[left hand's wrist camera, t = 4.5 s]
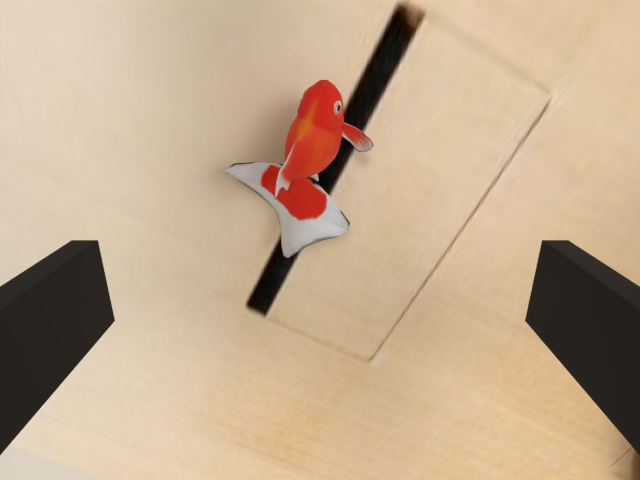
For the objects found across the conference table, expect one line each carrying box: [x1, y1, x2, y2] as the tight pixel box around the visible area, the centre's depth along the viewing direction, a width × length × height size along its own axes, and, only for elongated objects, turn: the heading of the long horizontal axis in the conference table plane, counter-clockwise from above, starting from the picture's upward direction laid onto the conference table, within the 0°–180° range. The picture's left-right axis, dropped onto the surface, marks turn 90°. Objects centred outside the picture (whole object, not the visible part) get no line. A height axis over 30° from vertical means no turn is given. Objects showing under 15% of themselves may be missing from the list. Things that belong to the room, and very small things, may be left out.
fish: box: [224, 80, 373, 258], centre depth 35 cm, size 11×16×10 cm
